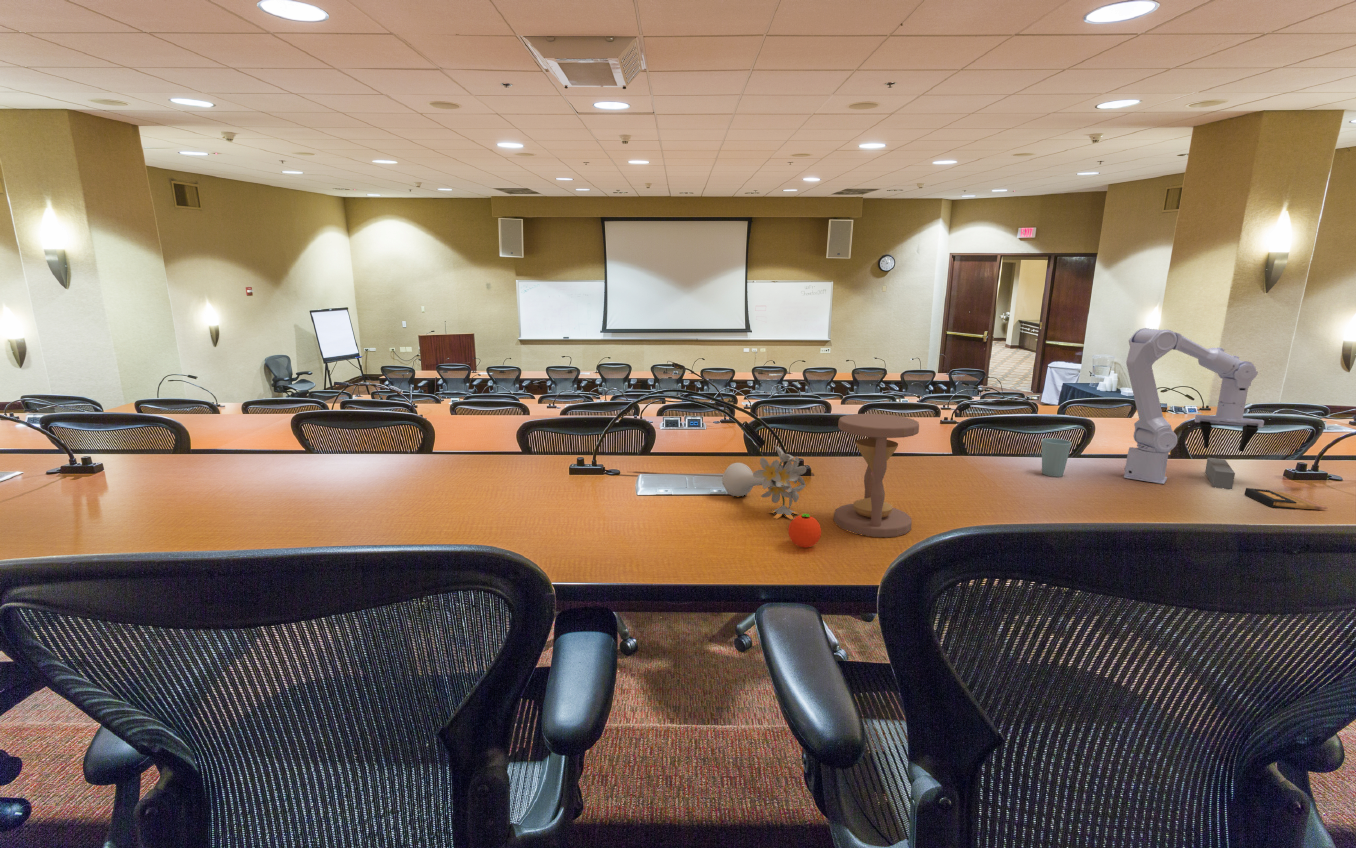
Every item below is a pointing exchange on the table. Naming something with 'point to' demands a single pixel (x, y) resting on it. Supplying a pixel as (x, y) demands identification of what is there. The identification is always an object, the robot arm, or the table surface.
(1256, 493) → the ammunition clip
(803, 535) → the clementine
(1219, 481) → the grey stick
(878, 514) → the hourglass
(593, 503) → the table surface
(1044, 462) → the cup
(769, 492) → the flower vase
